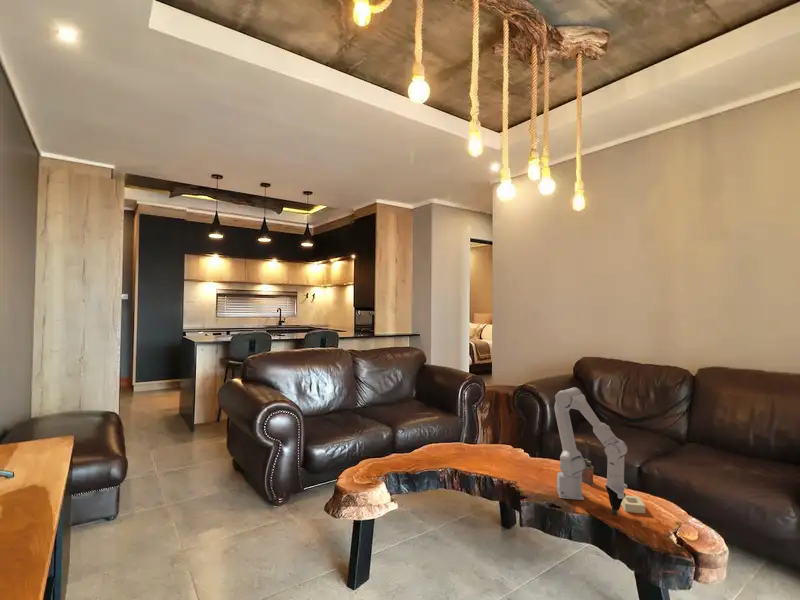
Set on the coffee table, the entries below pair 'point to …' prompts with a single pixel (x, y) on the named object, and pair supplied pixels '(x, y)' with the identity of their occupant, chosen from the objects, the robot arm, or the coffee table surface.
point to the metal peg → (614, 512)
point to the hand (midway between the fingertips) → (614, 507)
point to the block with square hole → (633, 504)
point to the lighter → (587, 473)
